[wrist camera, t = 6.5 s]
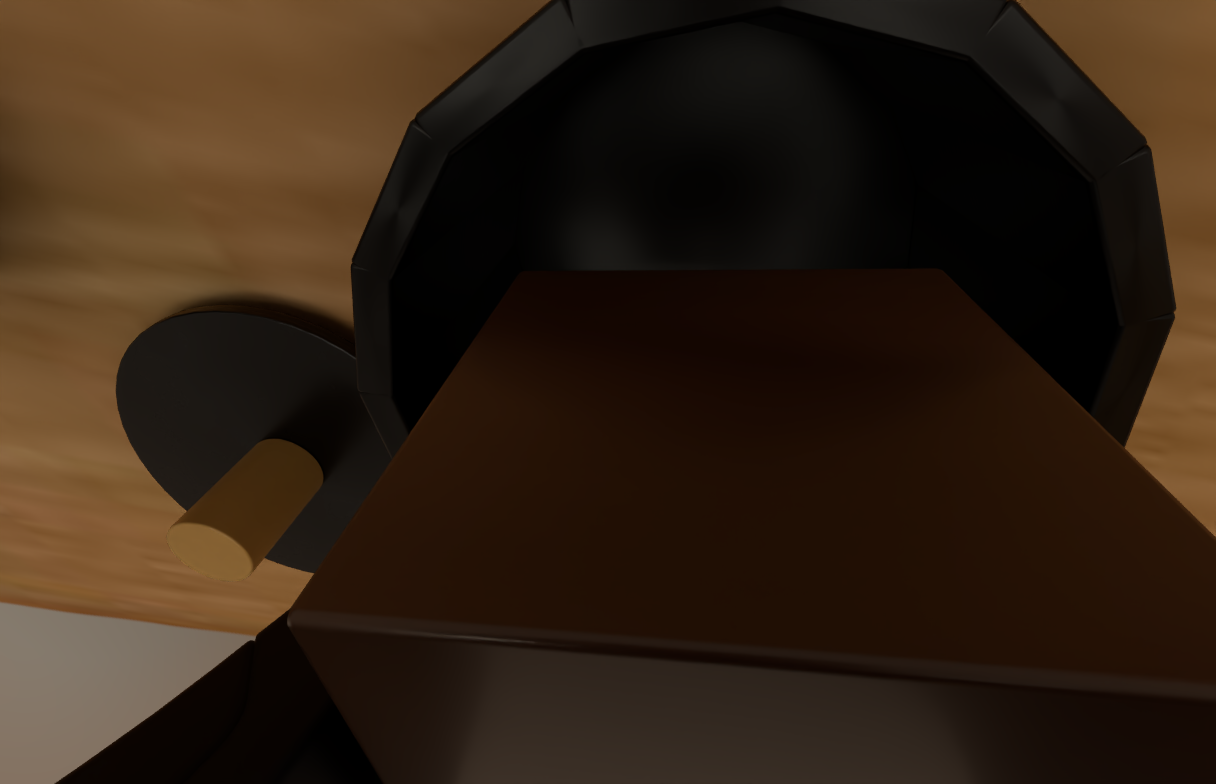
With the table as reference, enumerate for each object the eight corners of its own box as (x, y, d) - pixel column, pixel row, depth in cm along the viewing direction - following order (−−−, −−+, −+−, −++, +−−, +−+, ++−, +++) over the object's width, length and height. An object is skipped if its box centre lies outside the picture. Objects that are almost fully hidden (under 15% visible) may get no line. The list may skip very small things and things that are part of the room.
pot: (484, 370, 18) (366, 566, 11) (527, -70, 12) (322, -187, 5) (818, 452, 18) (890, 693, 12) (1038, 63, 12) (1463, 111, 5)
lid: (182, 518, 24) (75, 622, 20) (96, 255, 17) (-93, 328, 13) (455, 584, 24) (406, 701, 20) (476, 349, 18) (409, 452, 13)
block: (558, 542, 10) (462, 925, 6) (519, 268, 7) (275, 619, 3) (859, 559, 9) (999, 1006, 5) (942, 265, 6) (1409, 714, 2)
